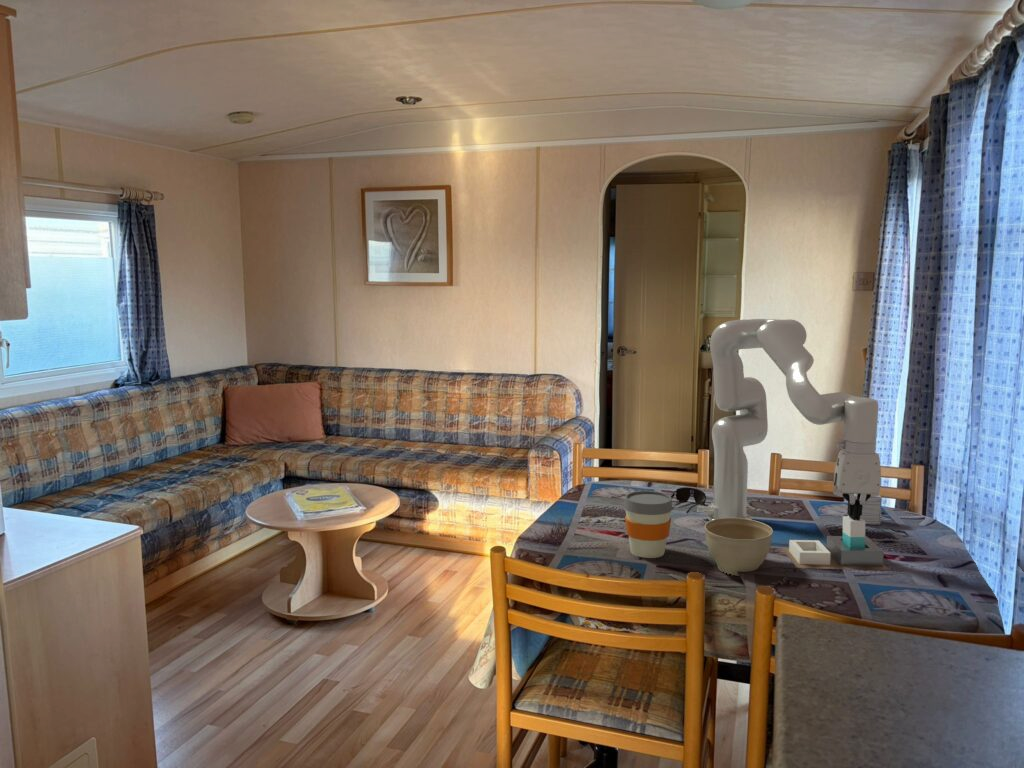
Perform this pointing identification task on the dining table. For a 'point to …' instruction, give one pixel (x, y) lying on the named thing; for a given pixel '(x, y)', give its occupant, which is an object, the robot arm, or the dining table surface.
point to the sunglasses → (685, 493)
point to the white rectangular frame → (809, 552)
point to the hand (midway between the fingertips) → (854, 518)
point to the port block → (855, 553)
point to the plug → (853, 532)
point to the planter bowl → (738, 543)
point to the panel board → (832, 565)
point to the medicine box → (871, 510)
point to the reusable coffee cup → (647, 522)
